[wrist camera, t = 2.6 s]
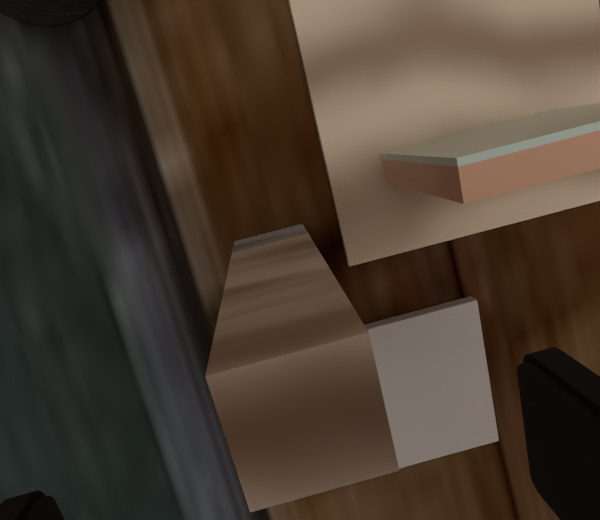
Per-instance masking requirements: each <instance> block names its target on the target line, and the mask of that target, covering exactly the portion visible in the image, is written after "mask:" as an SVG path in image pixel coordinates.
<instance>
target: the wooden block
mask: <svg viewBox="0 0 600 520" xmlns="http://www.w3.org/2000/svg"><path fill="white" fill-rule="evenodd" d="M205 377H206V380H207V383H208V386H209V389H210V392H211V395H212V398H213V401H214V404H215V407H216V410H217V413H218V416H219V419H220V422H221V426H222V429H223V432H224V435H225V438H226V441H227V444H228V447H229V450H230V453H231V456H232V459H233V462H234V465H235V468H236V471H237V474H238V477H239V480H240V483H241V486H242V489H243V492H244V495H245V498H246V501H247V504H248V507H249V510H250V512H253V511H257V510H260V509H264V508H267V507H271V506H275V505H278V504H282V503H285V502H289V501H293V500H296V499H300V498H303V497H307V496H310V495H314V494H318V493H321V492H325V491H328V490H332V489H336V488H339V487H343V486H346V485H350V484H354V483H357V482H361V481H364V480H368V479H371V478H375V477H379V476H382V475H386V474H389V473H393V472H397V471H400V470H399V466H398V462H397V457H396V453H395V448H394V444H393V439H392V435H391V430H390V426H389V421H388V417H387V412H386V408H385V403H384V399H383V394H382V390H381V385H380V381H379V376H378V372H377V367H376V363H375V358H374V354H373V350H372V345H371V341H370V336H369V332H368V330H367V329H366V327H365V326H364V324H363V322H362V321H361V319H360V317H359V316H358V314H357V312H356V311H355V309H354V307H353V306H352V304H351V303H350V301H349V299H348V298H347V296H346V294H345V293H344V291H343V289H342V288H341V286H340V284H339V283H338V281H337V280H336V278H335V276H334V275H333V273H332V271H331V270H330V268H329V266H328V265H327V263H326V262H325V260H324V258H323V257H322V255H321V253H320V252H319V250H318V248H317V247H316V245H315V243H314V242H313V240H312V239H311V237H310V235H309V234H308V232H307V230H306V229H305V227H304V225H303V224H299V225H295V226H291V227H287V228H284V229H280V230H276V231H272V232H268V233H264V234H261V235H257V236H253V237H249V238H245V239H241V240H237V241H234V245H233V250H232V254H231V259H230V264H229V268H228V273H227V278H226V282H225V287H224V292H223V296H222V301H221V305H220V310H219V315H218V319H217V324H216V329H215V333H214V338H213V343H212V347H211V352H210V356H209V361H208V366H207V370H206V375H205Z"/></svg>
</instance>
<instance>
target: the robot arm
mask: <svg viewBox="0 0 600 520" xmlns="http://www.w3.org/2000/svg"><path fill="white" fill-rule="evenodd" d="M517 373H518V381H519V389H520V397H521V405H522V413H523V421H524V429H525V436H526V444H527V452H528V460H529V468H530V475H531V478H532V481H533V484H534V486H535V488H536V489H537V491H538V493H539V494H540V495H541V497H542V498H543V499H544V500H545V502H546V503H547V504H548V505H549V506H550V508H551V509H552V510H553V511H554V513H555V514H556V515H557V516H558V517H559V519H560V520H600V376H598V375H597V374H595V373H594V372H592V371H591V370H589V369H588V368H586V367H585V366H583V365H582V364H580V363H579V362H578V361H576V360H575V359H573V358H572V357H570V356H569V355H567V354H566V353H564V352H563V351H561V350H560V349H558V348H556V347H551V348H548V349H544V350H541V351H537V352H533V353H530V354H527V355H525V356H524V360H523V363H522V364H519V365H518V368H517ZM0 520H64V518H63V516H62V514H61V512H60V510H59V508H58V506H57V503H56V501H55V500H54V498H53V497H51V496H45V494H44V493H42V492H41V491H34V492H30V493H27V494H23V495H20V496H16V497H12V498H9V499H7V500H5V501H4V502H3V503H2V504H1V505H0Z"/></svg>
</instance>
